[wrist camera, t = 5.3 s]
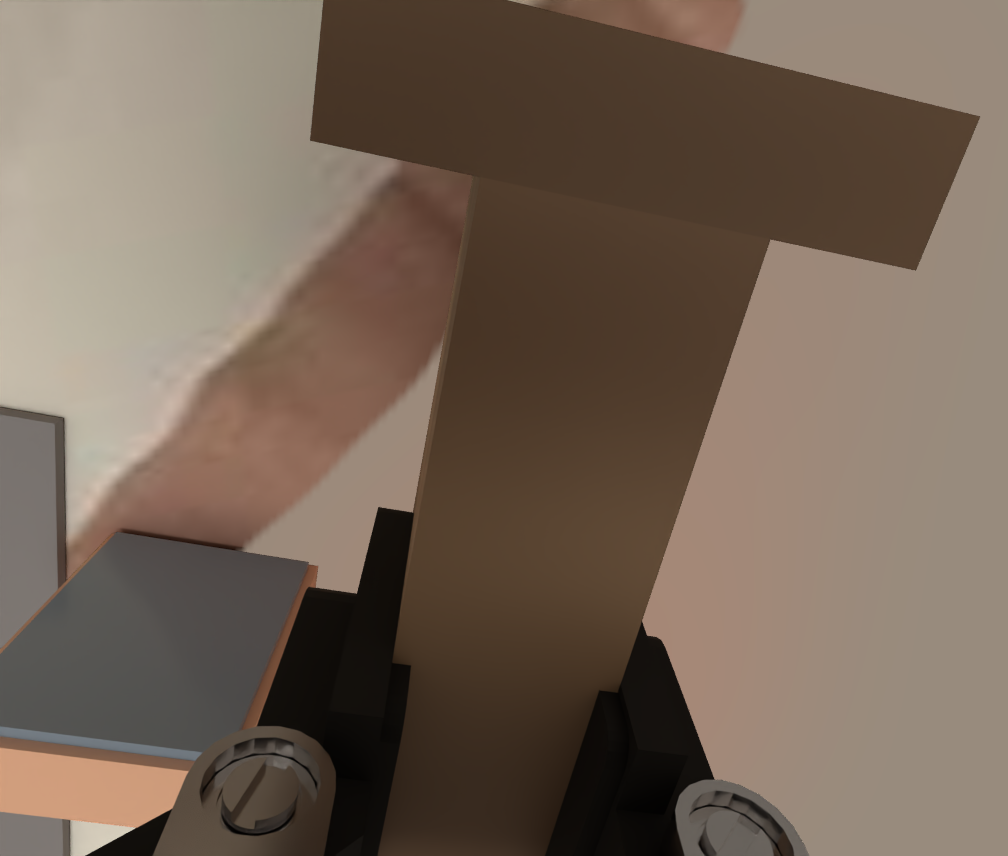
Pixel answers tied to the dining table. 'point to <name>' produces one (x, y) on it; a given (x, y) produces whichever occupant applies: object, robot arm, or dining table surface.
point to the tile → (139, 675)
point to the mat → (30, 572)
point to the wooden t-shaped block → (583, 346)
